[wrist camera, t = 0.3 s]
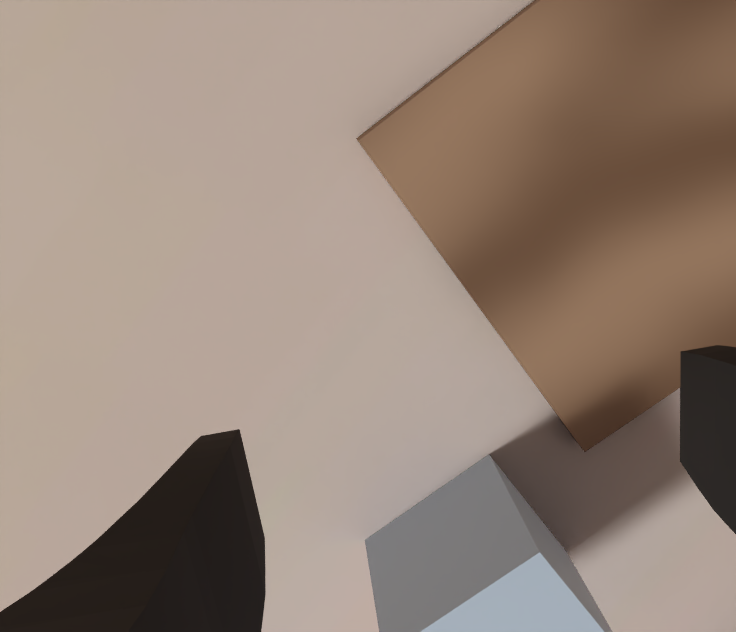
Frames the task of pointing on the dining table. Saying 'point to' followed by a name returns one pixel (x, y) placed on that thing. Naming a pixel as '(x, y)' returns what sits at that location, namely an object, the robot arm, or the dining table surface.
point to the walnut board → (584, 193)
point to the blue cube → (476, 565)
